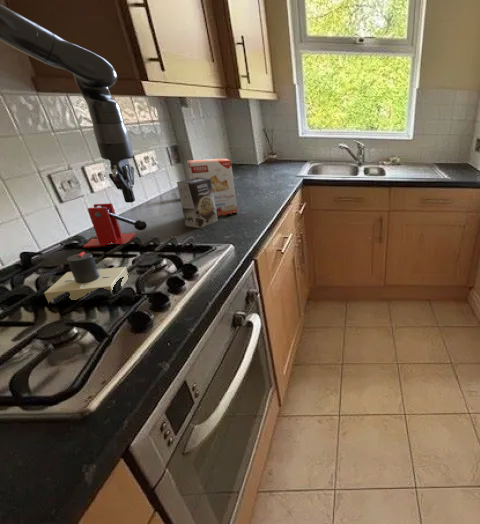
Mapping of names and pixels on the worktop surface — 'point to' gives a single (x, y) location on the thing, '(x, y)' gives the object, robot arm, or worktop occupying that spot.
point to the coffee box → (197, 202)
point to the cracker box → (217, 182)
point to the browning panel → (81, 289)
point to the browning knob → (83, 267)
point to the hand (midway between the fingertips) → (130, 201)
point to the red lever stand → (106, 227)
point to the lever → (129, 221)
